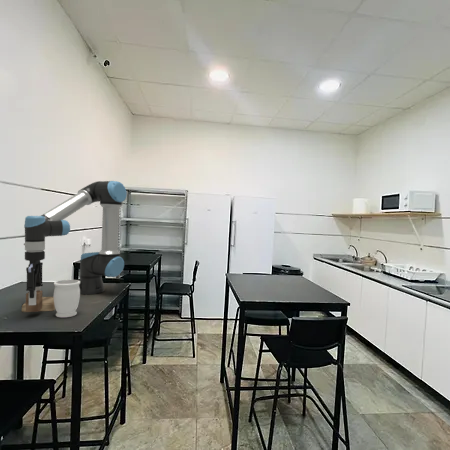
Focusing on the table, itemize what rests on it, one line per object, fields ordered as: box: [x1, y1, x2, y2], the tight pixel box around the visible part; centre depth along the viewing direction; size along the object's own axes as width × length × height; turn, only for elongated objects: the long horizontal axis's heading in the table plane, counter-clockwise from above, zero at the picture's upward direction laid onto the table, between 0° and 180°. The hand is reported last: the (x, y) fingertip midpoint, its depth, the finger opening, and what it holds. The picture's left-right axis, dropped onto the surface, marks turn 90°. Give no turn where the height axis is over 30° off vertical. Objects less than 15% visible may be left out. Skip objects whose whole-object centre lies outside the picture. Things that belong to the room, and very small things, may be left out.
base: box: [21, 296, 56, 313], centre depth 147 cm, size 13×14×3 cm
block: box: [25, 290, 43, 313], centre depth 135 cm, size 5×5×8 cm
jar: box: [53, 279, 81, 318], centre depth 137 cm, size 11×10×15 cm
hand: (34, 302), depth 135 cm, fingers closed on block, 5 cm apart
